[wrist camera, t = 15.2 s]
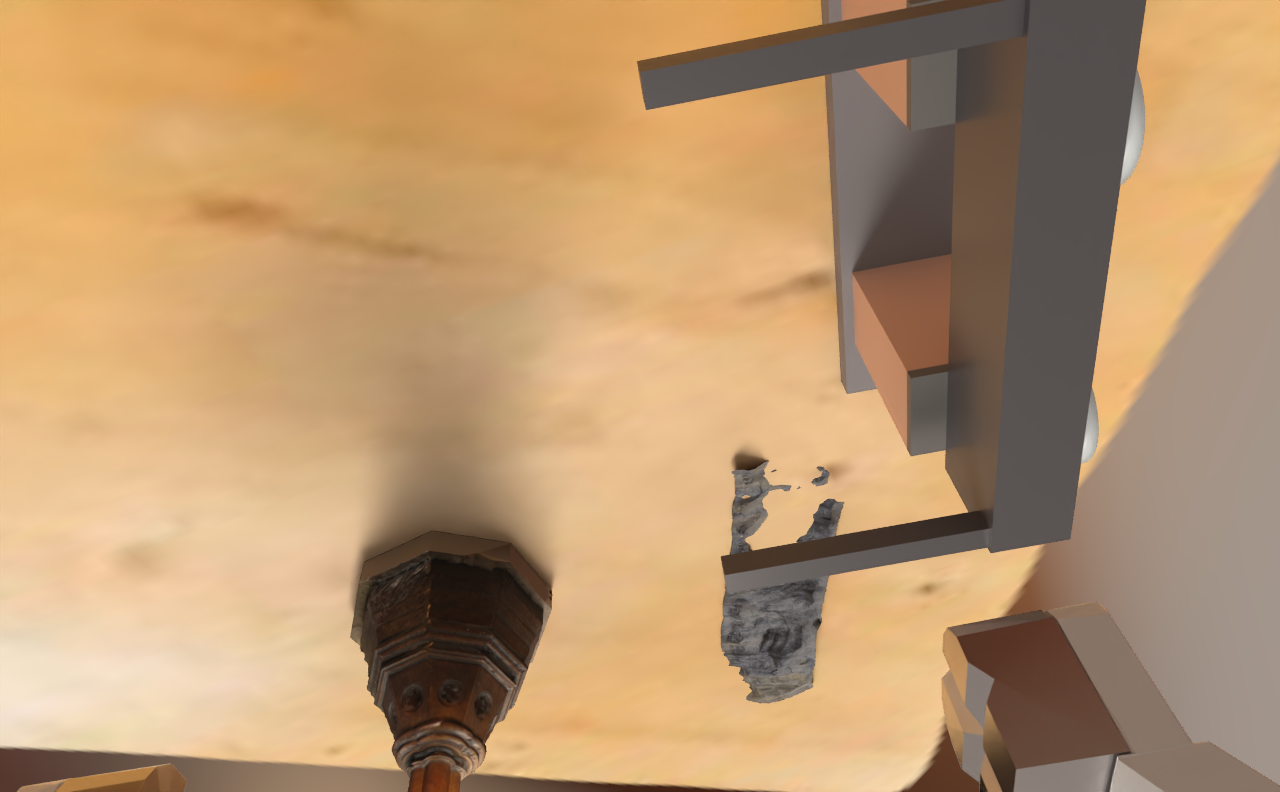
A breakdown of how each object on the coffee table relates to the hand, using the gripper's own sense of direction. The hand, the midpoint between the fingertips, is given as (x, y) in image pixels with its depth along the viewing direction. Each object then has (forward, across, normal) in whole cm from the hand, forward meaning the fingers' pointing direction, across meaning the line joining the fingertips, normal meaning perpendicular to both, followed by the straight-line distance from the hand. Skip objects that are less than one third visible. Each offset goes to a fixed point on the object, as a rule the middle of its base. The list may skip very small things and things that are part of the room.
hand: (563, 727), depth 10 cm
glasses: (+23, -9, +9) cm, 26 cm away
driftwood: (+34, -6, +36) cm, 50 cm away
